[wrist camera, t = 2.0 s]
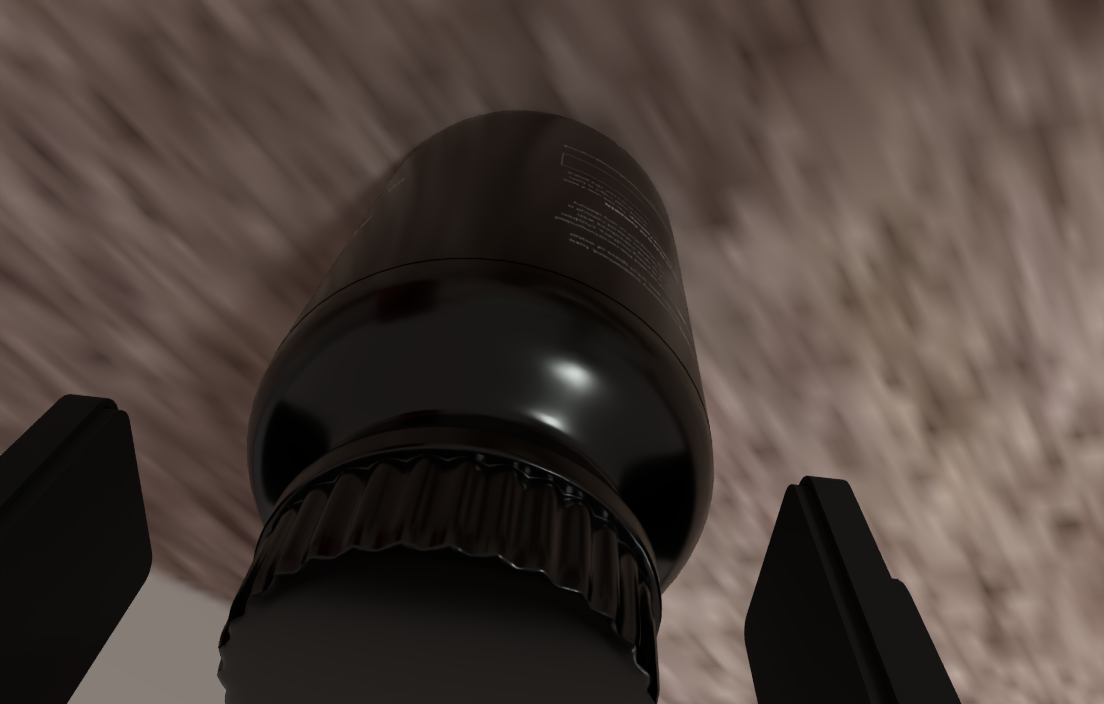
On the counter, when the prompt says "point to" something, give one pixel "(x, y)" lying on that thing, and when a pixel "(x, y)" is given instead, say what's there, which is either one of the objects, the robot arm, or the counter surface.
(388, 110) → the counter surface
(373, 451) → the supplement bottle
